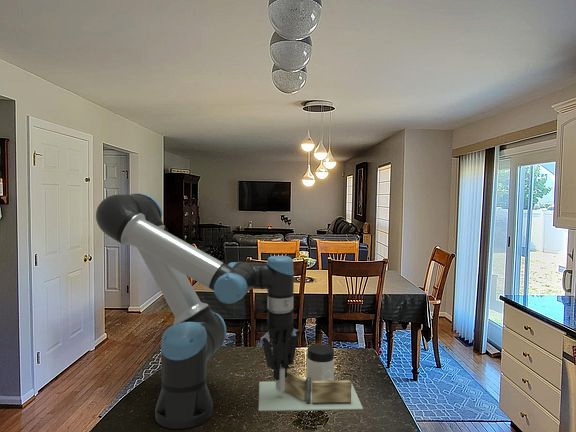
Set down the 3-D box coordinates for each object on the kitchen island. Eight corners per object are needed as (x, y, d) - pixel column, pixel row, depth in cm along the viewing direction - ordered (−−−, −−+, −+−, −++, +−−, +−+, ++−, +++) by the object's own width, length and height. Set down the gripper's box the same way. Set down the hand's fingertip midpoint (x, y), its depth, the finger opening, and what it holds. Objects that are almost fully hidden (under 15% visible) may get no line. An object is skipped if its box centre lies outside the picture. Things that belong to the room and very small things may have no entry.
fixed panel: (312, 402, 118) (312, 383, 118) (312, 400, 120) (312, 380, 119) (351, 402, 119) (351, 382, 119) (350, 399, 120) (350, 380, 120)
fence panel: (306, 399, 120) (307, 379, 120) (303, 400, 119) (303, 381, 119) (281, 385, 128) (281, 367, 128) (277, 387, 127) (277, 368, 127)
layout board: (258, 411, 115) (258, 409, 115) (259, 382, 132) (259, 381, 132) (363, 409, 116) (363, 408, 116) (350, 381, 133) (350, 380, 133)
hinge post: (305, 405, 118) (306, 379, 118) (305, 402, 120) (305, 377, 119) (310, 405, 118) (311, 379, 118) (310, 402, 120) (310, 377, 119)
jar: (316, 396, 123) (317, 356, 122) (300, 385, 130) (301, 347, 129) (339, 388, 128) (340, 350, 127) (322, 378, 134) (324, 341, 134)
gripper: (267, 317, 114) (267, 400, 116) (306, 309, 121) (305, 388, 123) (254, 310, 120) (254, 389, 122) (292, 303, 127) (291, 378, 129)
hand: (280, 389), depth 122 cm, fingers closed
